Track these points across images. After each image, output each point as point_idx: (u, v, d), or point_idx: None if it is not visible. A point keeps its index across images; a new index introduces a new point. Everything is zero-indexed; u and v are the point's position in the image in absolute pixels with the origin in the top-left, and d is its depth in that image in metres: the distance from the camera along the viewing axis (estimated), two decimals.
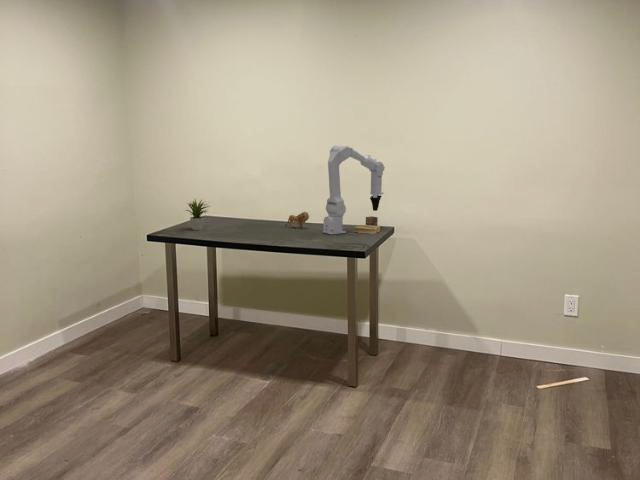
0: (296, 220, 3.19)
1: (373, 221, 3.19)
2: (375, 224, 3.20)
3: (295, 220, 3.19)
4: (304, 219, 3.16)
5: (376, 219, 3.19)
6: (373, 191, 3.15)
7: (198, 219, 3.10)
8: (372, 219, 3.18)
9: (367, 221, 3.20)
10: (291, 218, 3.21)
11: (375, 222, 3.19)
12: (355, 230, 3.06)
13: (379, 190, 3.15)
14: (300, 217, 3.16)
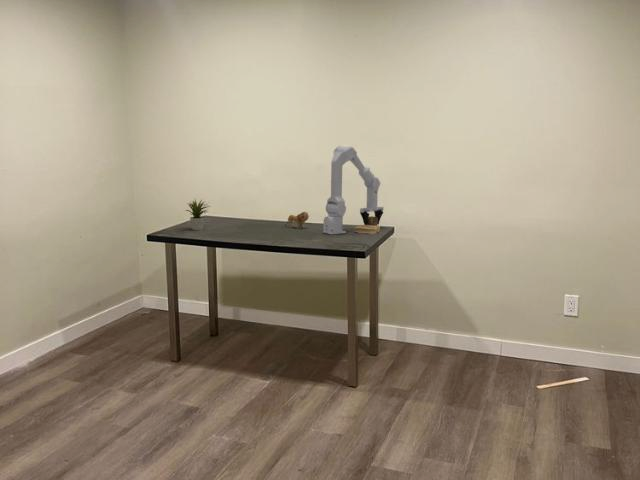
0: (296, 220, 3.19)
1: (373, 221, 3.19)
2: (375, 224, 3.20)
3: (295, 220, 3.19)
4: (304, 219, 3.16)
5: (376, 219, 3.19)
6: None
7: (198, 219, 3.10)
8: (372, 219, 3.18)
9: None
10: (291, 218, 3.21)
11: (375, 222, 3.19)
12: (355, 230, 3.06)
13: (371, 205, 3.16)
14: (300, 217, 3.17)
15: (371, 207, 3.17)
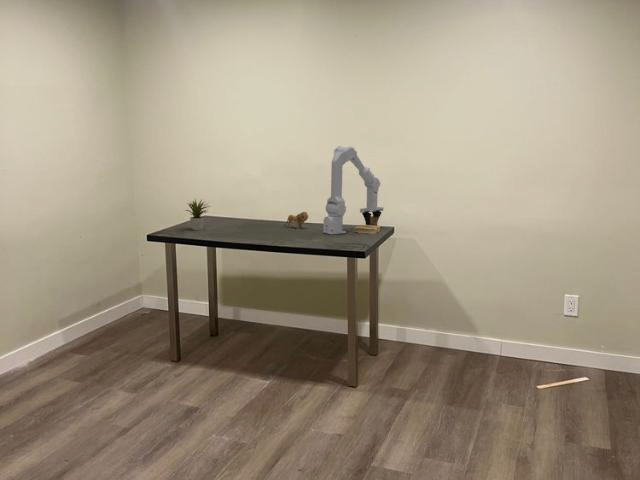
0: (295, 220, 3.19)
1: (373, 221, 3.19)
2: (375, 224, 3.20)
3: (294, 220, 3.19)
4: (303, 219, 3.17)
5: (376, 219, 3.19)
6: None
7: (198, 219, 3.10)
8: (372, 219, 3.18)
9: None
10: (290, 218, 3.21)
11: (375, 222, 3.19)
12: (355, 230, 3.06)
13: (371, 206, 3.16)
14: (299, 217, 3.17)
15: (371, 207, 3.17)
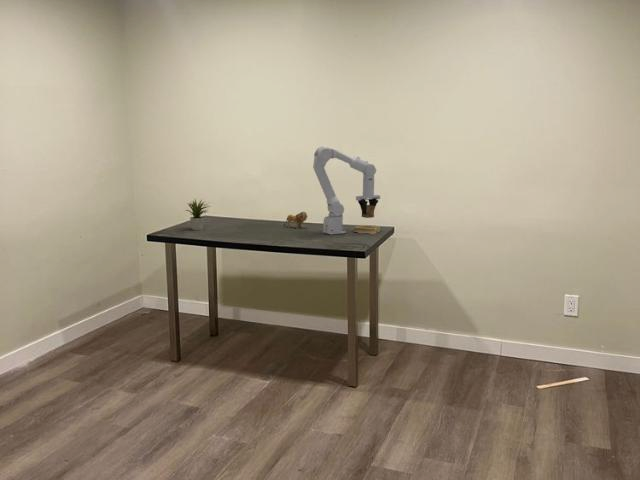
0: (294, 220, 3.19)
1: (369, 209, 3.06)
2: (372, 213, 3.07)
3: (293, 220, 3.19)
4: (302, 219, 3.17)
5: (373, 207, 3.07)
6: None
7: (198, 219, 3.10)
8: (368, 207, 3.06)
9: None
10: (289, 218, 3.21)
11: (371, 211, 3.07)
12: (355, 230, 3.06)
13: (367, 193, 3.04)
14: (298, 217, 3.17)
15: (367, 195, 3.04)
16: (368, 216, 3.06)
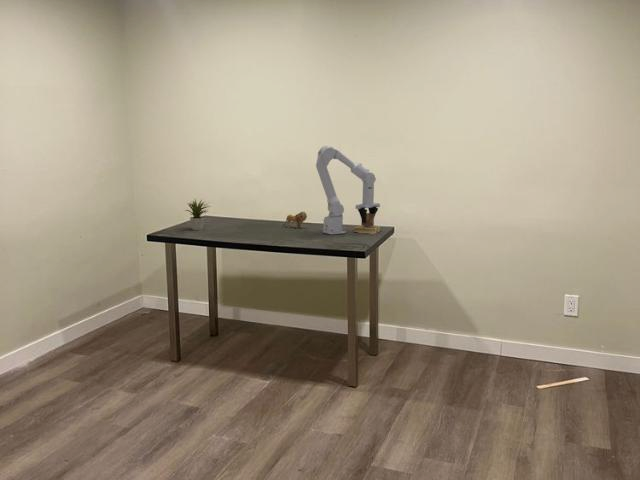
0: (294, 220, 3.19)
1: (369, 218, 3.06)
2: (371, 221, 3.08)
3: (293, 220, 3.20)
4: (302, 219, 3.17)
5: (372, 216, 3.07)
6: (362, 202, 3.07)
7: (198, 219, 3.10)
8: (368, 216, 3.06)
9: None
10: (289, 218, 3.21)
11: (371, 219, 3.07)
12: (355, 230, 3.06)
13: (367, 202, 3.04)
14: (298, 217, 3.17)
15: (367, 203, 3.04)
16: (368, 224, 3.07)
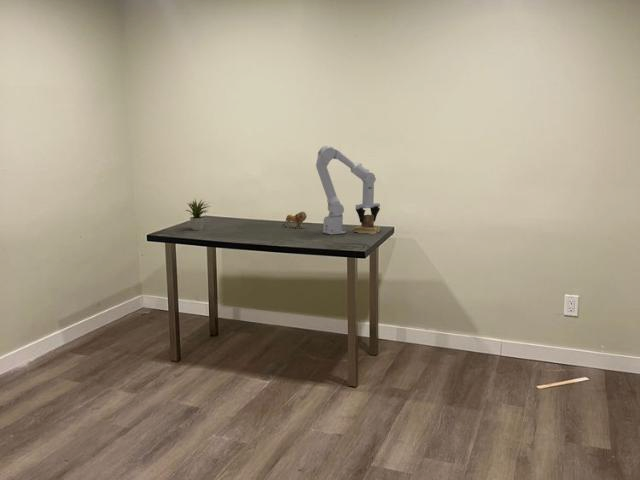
0: (294, 220, 3.19)
1: (369, 219, 3.07)
2: (371, 222, 3.08)
3: (293, 220, 3.20)
4: (302, 219, 3.17)
5: (372, 217, 3.08)
6: (362, 202, 3.07)
7: (198, 219, 3.10)
8: (368, 217, 3.06)
9: None
10: (289, 218, 3.21)
11: (371, 220, 3.07)
12: (355, 230, 3.06)
13: (367, 202, 3.04)
14: (298, 217, 3.17)
15: (367, 203, 3.04)
16: (368, 226, 3.07)
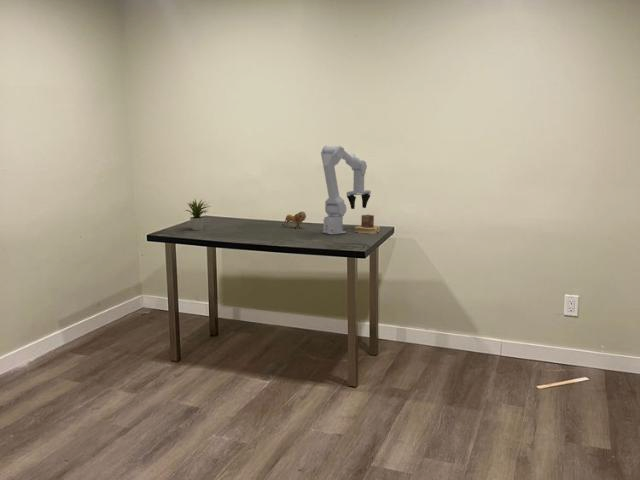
0: (293, 220, 3.19)
1: (369, 219, 3.07)
2: (371, 222, 3.08)
3: (292, 220, 3.20)
4: (301, 219, 3.17)
5: (372, 217, 3.08)
6: (353, 189, 3.18)
7: (198, 219, 3.10)
8: (368, 217, 3.06)
9: (363, 219, 3.08)
10: (288, 218, 3.22)
11: (371, 220, 3.07)
12: (355, 230, 3.06)
13: (357, 189, 3.16)
14: (297, 217, 3.17)
15: (358, 190, 3.16)
16: (368, 226, 3.07)
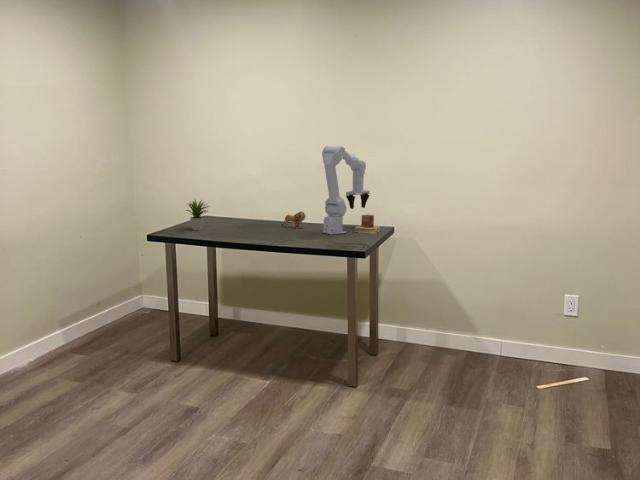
0: (292, 220, 3.20)
1: (369, 219, 3.07)
2: (371, 222, 3.08)
3: (291, 220, 3.20)
4: (300, 219, 3.17)
5: (372, 217, 3.08)
6: None
7: (198, 219, 3.10)
8: (368, 217, 3.06)
9: (363, 219, 3.08)
10: (287, 218, 3.22)
11: (371, 220, 3.07)
12: (355, 230, 3.06)
13: (357, 189, 3.17)
14: (297, 217, 3.18)
15: (357, 190, 3.17)
16: (368, 226, 3.07)
